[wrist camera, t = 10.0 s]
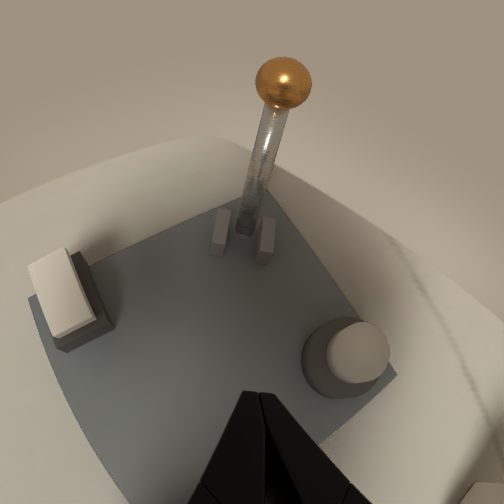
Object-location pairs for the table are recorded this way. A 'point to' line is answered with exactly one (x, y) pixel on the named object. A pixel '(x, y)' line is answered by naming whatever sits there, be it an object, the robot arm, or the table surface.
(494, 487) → the medicine bottle
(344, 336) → the push button
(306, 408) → the switch panel
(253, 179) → the toggle lever
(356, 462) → the table surface
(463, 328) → the table surface
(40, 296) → the rocker switch
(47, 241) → the table surface
